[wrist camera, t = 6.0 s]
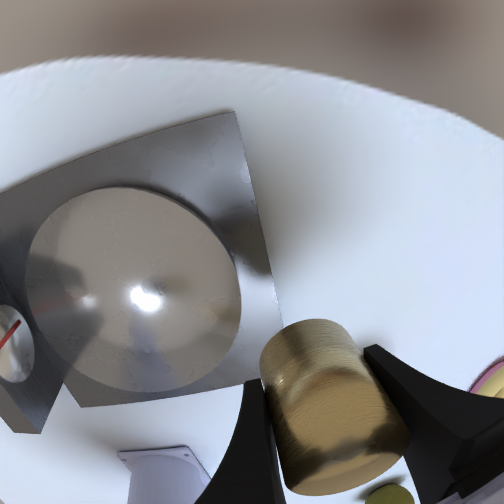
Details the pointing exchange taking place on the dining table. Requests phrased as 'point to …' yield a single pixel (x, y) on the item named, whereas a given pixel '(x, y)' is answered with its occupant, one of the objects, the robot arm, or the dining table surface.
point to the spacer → (328, 410)
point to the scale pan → (133, 289)
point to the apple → (390, 495)
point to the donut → (491, 382)
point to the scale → (161, 181)
